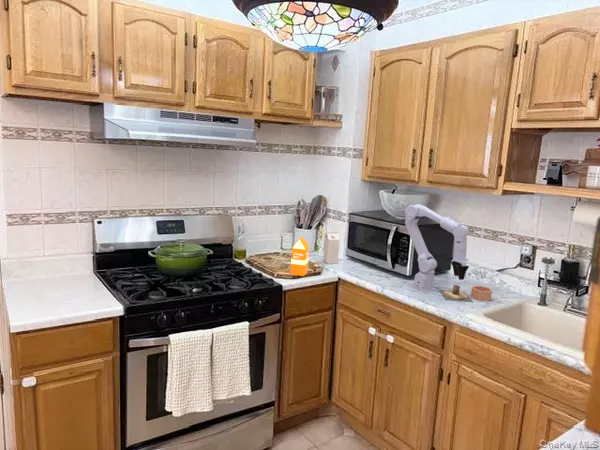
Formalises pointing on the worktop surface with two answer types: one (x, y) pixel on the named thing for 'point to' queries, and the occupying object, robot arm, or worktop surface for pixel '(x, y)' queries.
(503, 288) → the worktop surface
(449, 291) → the lid
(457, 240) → the robot arm
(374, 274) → the worktop surface
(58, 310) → the worktop surface
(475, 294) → the bowl
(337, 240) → the milk carton
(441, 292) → the mat
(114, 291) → the worktop surface
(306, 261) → the orange juice
